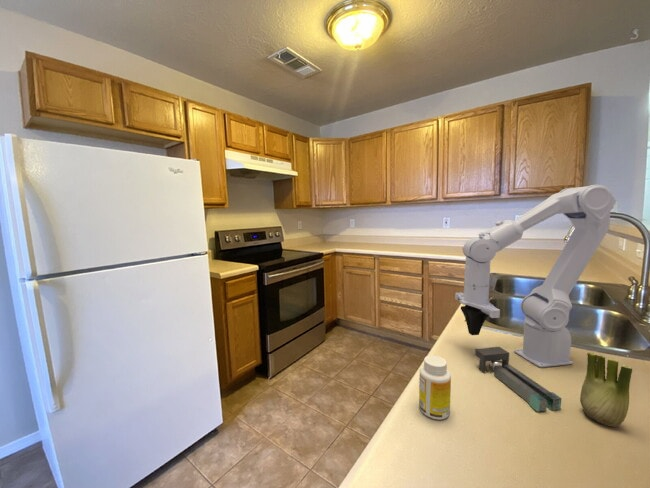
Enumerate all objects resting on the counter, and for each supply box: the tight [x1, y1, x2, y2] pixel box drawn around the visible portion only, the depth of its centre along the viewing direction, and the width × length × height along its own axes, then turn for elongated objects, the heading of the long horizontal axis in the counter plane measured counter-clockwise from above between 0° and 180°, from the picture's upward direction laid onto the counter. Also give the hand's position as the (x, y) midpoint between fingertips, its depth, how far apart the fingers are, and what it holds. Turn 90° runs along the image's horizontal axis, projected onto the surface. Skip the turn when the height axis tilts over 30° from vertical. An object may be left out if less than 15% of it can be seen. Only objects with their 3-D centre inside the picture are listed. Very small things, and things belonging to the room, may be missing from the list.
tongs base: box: [489, 360, 562, 412], centre depth 60 cm, size 4×15×2 cm, turn 8°
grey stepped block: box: [474, 346, 510, 373], centre depth 67 cm, size 7×3×4 cm, turn 98°
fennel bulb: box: [579, 351, 633, 428], centre depth 50 cm, size 6×5×12 cm
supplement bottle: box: [418, 355, 452, 420], centre depth 53 cm, size 6×6×10 cm
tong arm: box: [493, 365, 547, 412], centre depth 58 cm, size 2×12×2 cm, turn 7°
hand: (473, 334), depth 73 cm, fingers closed
